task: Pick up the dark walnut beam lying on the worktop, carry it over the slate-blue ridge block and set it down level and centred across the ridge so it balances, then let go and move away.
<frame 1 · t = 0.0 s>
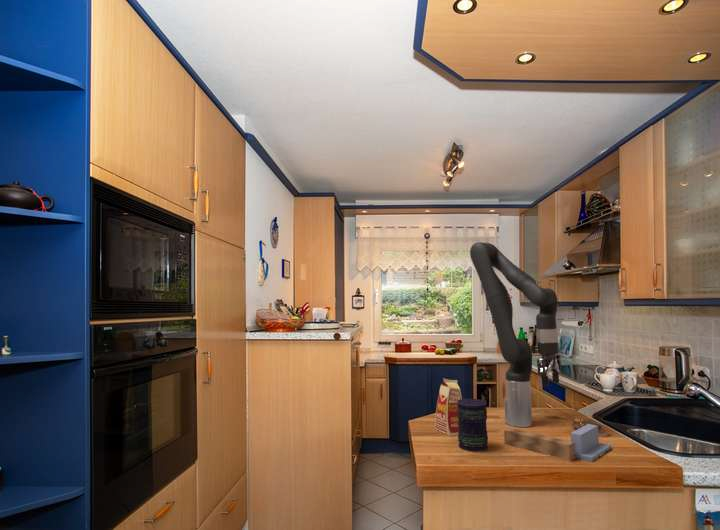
hand: (550, 384, 167), 17 cm above the worktop, tool pointing down, fingers open, 8 cm apart
beam: (538, 451, 146), on the worktop
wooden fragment: (587, 428, 170), on the worktop
milk carton: (450, 431, 169), on the worktop
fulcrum: (585, 451, 145), on the worktop
storage jar: (473, 447, 151), on the worktop
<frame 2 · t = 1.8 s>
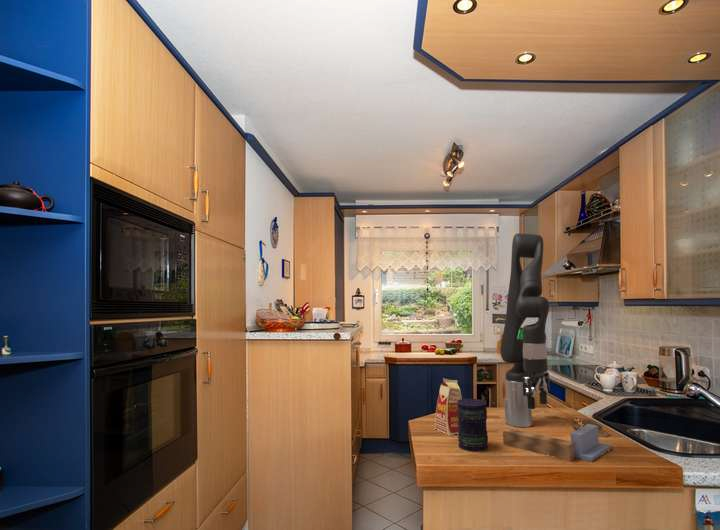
hand: (537, 406, 147), 14 cm above the worktop, tool pointing down, fingers open, 8 cm apart
nothing on the worktop moved.
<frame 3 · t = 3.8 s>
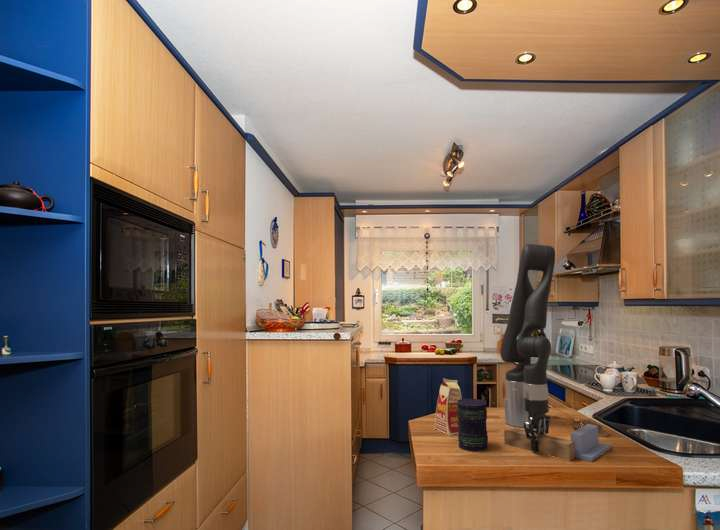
hand: (538, 449, 146), 0 cm above the worktop, tool pointing down, fingers closed on beam, 4 cm apart
beam: (538, 450, 146), on the worktop, touching gripper
everything else where it was.
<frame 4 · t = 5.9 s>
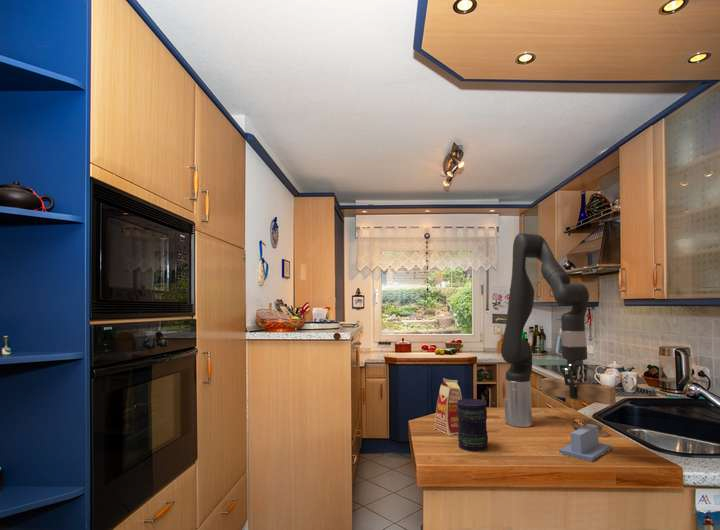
hand: (576, 397, 146), 17 cm above the worktop, tool pointing down, fingers closed on beam, 4 cm apart
beam: (577, 398, 146), point 17 cm above the worktop, touching gripper
everything else where it was.
when the fingers open (8 cm above the worktop, at t = 8.1 s): beam stays where it is, resting on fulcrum.
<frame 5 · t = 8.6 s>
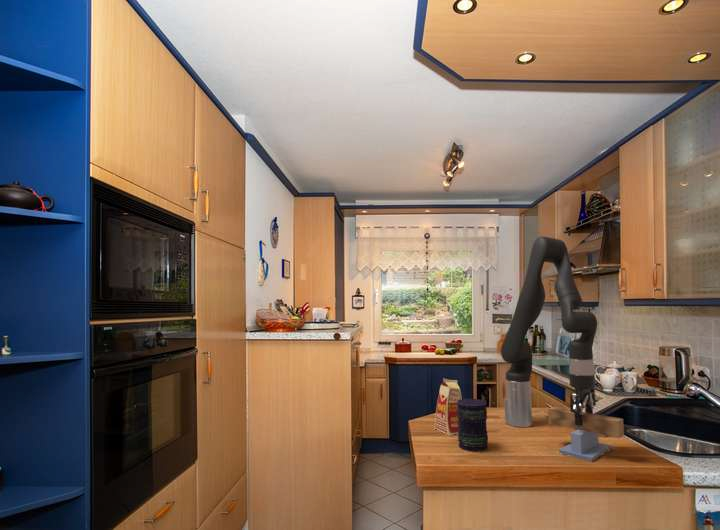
hand: (584, 422, 146), 9 cm above the worktop, tool pointing down, fingers open, 8 cm apart
beam: (584, 429, 145), point 7 cm above the worktop, touching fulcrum
everything else where it was.
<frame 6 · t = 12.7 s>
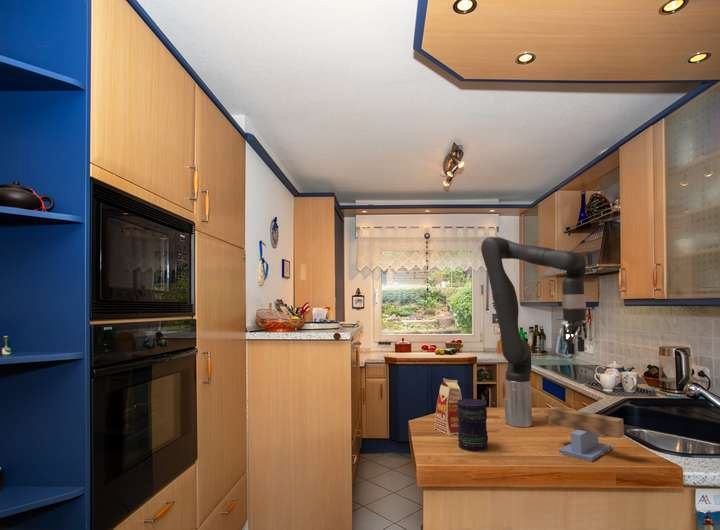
hand: (576, 352, 159), 30 cm above the worktop, tool pointing down, fingers open, 8 cm apart
nothing on the worktop moved.
at the end: beam inside the target area on the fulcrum (0.1 cm from its centre), point 7.0 cm above the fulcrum's base; beam tilted 0°; beam touching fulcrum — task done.
